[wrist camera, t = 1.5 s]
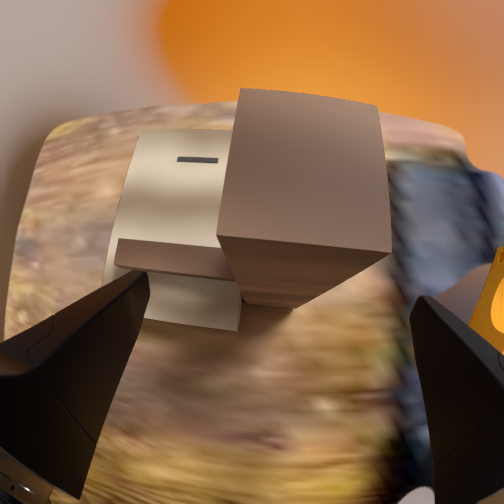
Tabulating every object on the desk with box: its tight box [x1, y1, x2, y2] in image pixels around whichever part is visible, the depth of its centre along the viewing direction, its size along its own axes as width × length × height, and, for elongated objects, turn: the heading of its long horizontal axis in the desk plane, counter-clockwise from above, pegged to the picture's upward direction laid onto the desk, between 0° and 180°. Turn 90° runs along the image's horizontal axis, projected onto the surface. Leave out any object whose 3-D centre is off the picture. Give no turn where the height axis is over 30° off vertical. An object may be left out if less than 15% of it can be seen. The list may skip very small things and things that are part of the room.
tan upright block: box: [113, 88, 392, 308], centre depth 14 cm, size 4×12×16 cm, turn 84°
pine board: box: [102, 129, 242, 331], centre depth 22 cm, size 15×10×3 cm, turn 174°
